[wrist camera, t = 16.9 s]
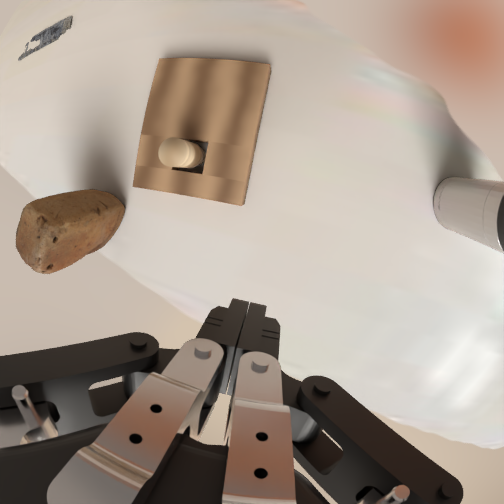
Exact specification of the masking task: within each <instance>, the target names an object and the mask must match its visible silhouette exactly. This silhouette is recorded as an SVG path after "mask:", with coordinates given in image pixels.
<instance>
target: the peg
mask: <svg viewBox="0 0 504 504" xmlns="http://www.w3.org/2000/svg"><path fill="white" fill-rule="evenodd" d="M158 155H159V159H160V161H161V162H162V163H163V164H164V165H165V166H168V167H183V168H194V167H196V166H199V165H201V164H202V163H203V162H204V161H205V158H206V155H205V152H204V150H203V149H201V147H200V146H199V145H198V144H196V143H192V142H189V141H186V140H183V139H180V138H176V137H171V138H168V139H166V140H164V141H163V142H162V144H161V145H160V147H159V152H158Z"/></svg>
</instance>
